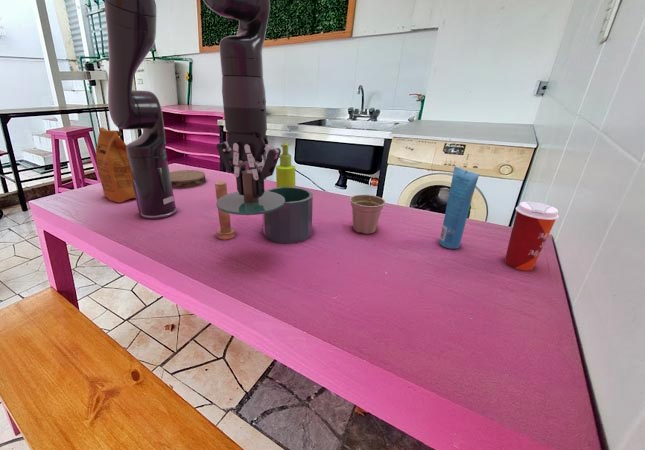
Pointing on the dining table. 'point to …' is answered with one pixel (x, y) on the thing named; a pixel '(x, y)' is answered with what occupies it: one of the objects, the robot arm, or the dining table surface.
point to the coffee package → (114, 166)
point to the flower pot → (366, 212)
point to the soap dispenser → (285, 169)
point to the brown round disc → (187, 179)
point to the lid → (249, 199)
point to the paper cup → (529, 234)
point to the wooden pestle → (223, 214)
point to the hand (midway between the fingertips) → (251, 195)
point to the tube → (457, 207)
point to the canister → (290, 216)
